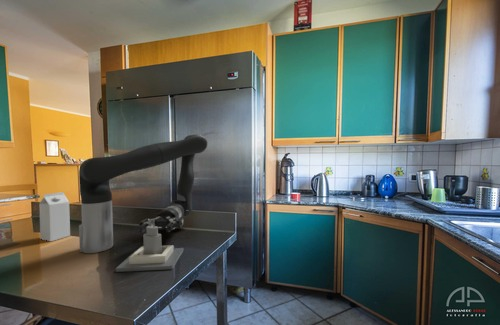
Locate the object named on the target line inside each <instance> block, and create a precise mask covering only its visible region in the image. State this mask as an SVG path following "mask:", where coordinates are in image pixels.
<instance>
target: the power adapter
mask: <svg viewBox="0 0 500 325" xmlns="http://www.w3.org/2000/svg"><path fill="white" fill-rule="evenodd" d="M150 219H151V218H149V221H150ZM153 221H154V220H153ZM149 224H150V226H147V227H146V229H147V230H146V233H144V234H143V236H142V238H143V246H144V255H152V254H162V246H163V245H162V244H163V243H162V234H161V233H159V230H158V229H159V228H158V227H157V226H155V223H153V224H154V225H153V226H151V222H149Z"/></svg>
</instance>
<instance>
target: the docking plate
mask: <svg viewBox="0 0 500 325" xmlns="http://www.w3.org/2000/svg"><path fill="white" fill-rule="evenodd" d="M183 252H184V247H178V248H177V247H176V248H175V247H174V245H173V244H172V245H171V244H170V245H169V244H168V245H162V254H152V255H144V245H142V246H140V247H139V248H138V249H136V250H134V252H132V253H131V254H129V256H128V257H127V258H126V259H124V260H123V261H122V262H121V263H120V264H119V265H118V266H116V268H115V272H116V273H119V272H122V273H123V272H139V271H141V272H142V271H144V272H145V271H158V270H159V271H161V270H163V271H165V270H173V269H174V267H175V266H176V264H177V263H178V261H179V259H180V258H181V256H182V254H183Z"/></svg>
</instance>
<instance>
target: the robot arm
mask: <svg viewBox="0 0 500 325" xmlns="http://www.w3.org/2000/svg"><path fill="white" fill-rule="evenodd" d="M207 140H208V139H206V137H205V136H203V135H201V134H198V133H197V134H196V133H195V134H189V135H187V136H185V137H184V139H180V140H175V141H174V140H172V141H163V142H156V143H152V144H149V145H144V146H141V147H140V146H139V147H138V148H135V149H132V150H130V151H127V152H124V153H121V154H116V155H110V156H109V155H108V156H103V157H100V156H99V157H98V156H97V157H90V158H88V159H85V160H84V161H83V162H81V164H80V166H79V169H78V175H79V176H78V180H79V183H78V184H79V194H80V201H81V202H80V203H81V207H80V208H81V224H79V225H78V232H79V233H78V235H79V237H78V238H79V241H78V242H79V253H84V254H96V253H101V252H104V251H108V250H110V249H111V248H112V247H113V246H114V225H113V223H114V222H113V221H114V220H113V194H112V191H111V187H110V180H112V179H114V178H117V177H119V176H122V175H124V174H128V173H131V172H136V171H141V170H145V169H150V168H153V167H157V166H160V165H163V164H166V163H168V162H172V161H174V160H177V159H180V158H181V162H180V165H181V166H180V174H179V178H178V183H177V188H176V194H177V195H179V196H181V197H183V198H184V200H181V199H180V200H179V199H172V200H171V201H170V203H169V205H168V207H166V208H164V209H163V210H161V211H159V213H158V214H157V215H156V217H155V218H150V217H147V218H144V219H143V220H141V221H139V222H138V230H139V233H140V234H143V233H145V232H147V229H146V227H147V226H150V224H149V222H151V226H154V224H153V223H155V226H157V227H158V229H163V230H166V233H170V232H171V231H173V230H175V229H176V228H177V229H181V228H182V227H183V225H184V217H186V216H187V217H189V216H190V215H189V213H190V212H189V211H193V203H192V193H193V187H194V183H195V172H194V159H195V156H196V154H201V153H203V152H204V151H205V150H207V147H208V141H207ZM186 210H189V211H186ZM188 215H189V216H188ZM149 219H150V221H149ZM153 220H154V221H153Z"/></svg>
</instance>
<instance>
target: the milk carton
mask: <svg viewBox="0 0 500 325" xmlns="http://www.w3.org/2000/svg"><path fill="white" fill-rule="evenodd" d="M38 205H39V230H40V231H39V234H40V235H39V236H40V240H41V239H42V240H43V241H46V240H47V241H48V242H54V241H57V240H60V239H64V238H67V237H71V222H70V221H71V219H70V216H71V215H70V201H69V199H68V197H67V196H66V195H65V192H64V191H62V192H54V193H53V192H52V193H44V194H43V198H42V199H41V201H40V202H39V203H38ZM47 241H46V242H47Z"/></svg>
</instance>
